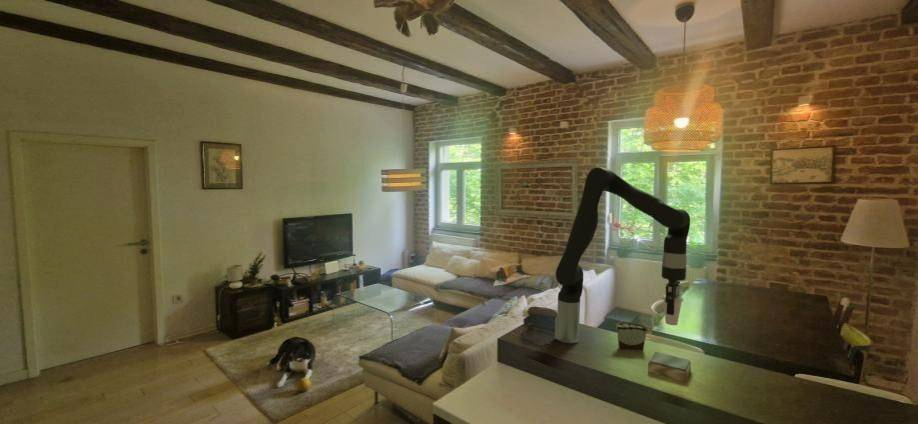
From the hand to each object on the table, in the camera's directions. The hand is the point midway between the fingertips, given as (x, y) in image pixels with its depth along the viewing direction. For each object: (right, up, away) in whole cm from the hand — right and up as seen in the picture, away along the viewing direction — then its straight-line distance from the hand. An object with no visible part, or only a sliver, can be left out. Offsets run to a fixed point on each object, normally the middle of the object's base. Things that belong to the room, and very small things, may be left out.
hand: (671, 312), depth 138 cm
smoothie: (0, -4, 0) cm, 4 cm away
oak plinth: (0, -21, +1) cm, 21 cm away
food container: (-6, -21, +22) cm, 31 cm away
